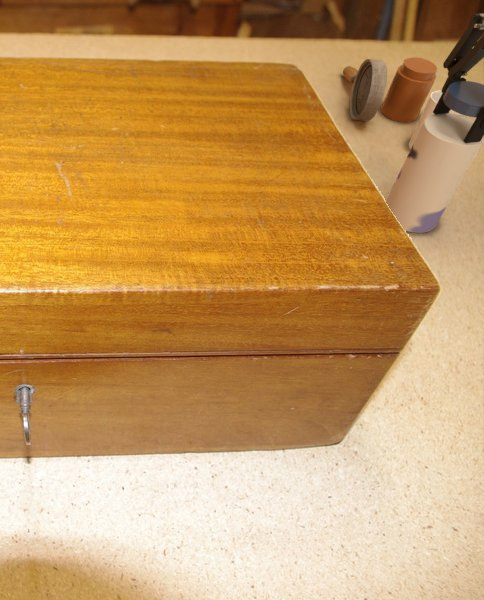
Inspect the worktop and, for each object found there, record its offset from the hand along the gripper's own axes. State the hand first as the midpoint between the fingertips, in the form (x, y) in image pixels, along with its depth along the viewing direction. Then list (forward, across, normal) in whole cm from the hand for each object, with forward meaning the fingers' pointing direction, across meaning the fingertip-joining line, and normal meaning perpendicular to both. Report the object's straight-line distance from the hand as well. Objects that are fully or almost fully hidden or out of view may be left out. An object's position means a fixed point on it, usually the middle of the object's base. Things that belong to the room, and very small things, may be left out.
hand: (455, 126), depth 121 cm
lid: (-6, 0, 0) cm, 6 cm away
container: (+20, 0, 0) cm, 20 cm away
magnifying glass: (+20, -39, +11) cm, 46 cm away
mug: (+20, -21, +17) cm, 34 cm away
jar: (+20, -33, +19) cm, 43 cm away
